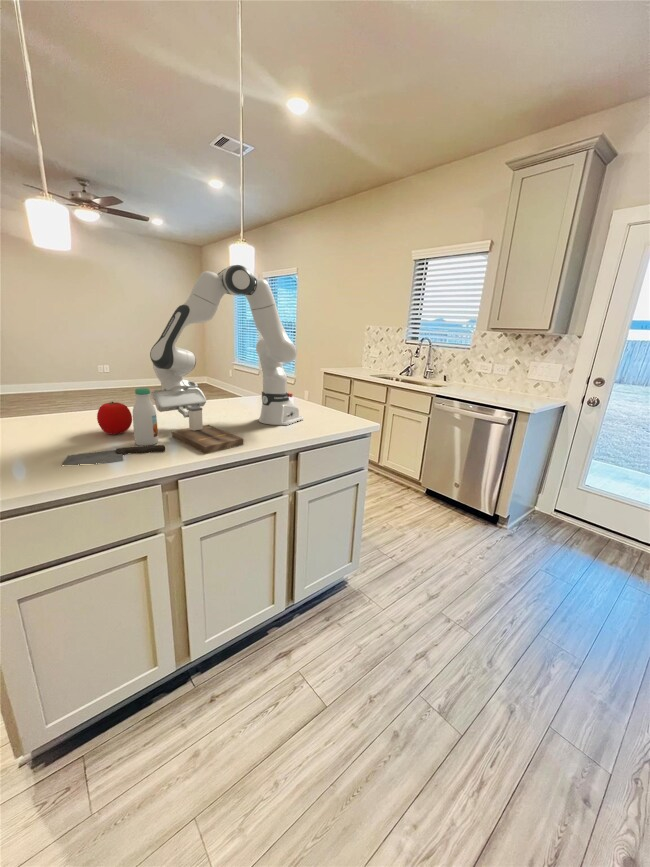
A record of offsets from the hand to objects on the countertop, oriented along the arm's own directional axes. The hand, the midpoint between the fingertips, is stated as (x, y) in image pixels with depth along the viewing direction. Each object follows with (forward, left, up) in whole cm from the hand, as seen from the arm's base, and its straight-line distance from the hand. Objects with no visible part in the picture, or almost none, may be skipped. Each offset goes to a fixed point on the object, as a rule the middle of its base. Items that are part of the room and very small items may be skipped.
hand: (188, 416), depth 143 cm
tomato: (+22, -15, -7) cm, 28 cm away
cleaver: (+31, +10, -8) cm, 33 cm away
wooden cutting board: (0, +14, -7) cm, 15 cm away
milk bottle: (+18, +3, -7) cm, 20 cm away
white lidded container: (0, +6, -4) cm, 7 cm away
